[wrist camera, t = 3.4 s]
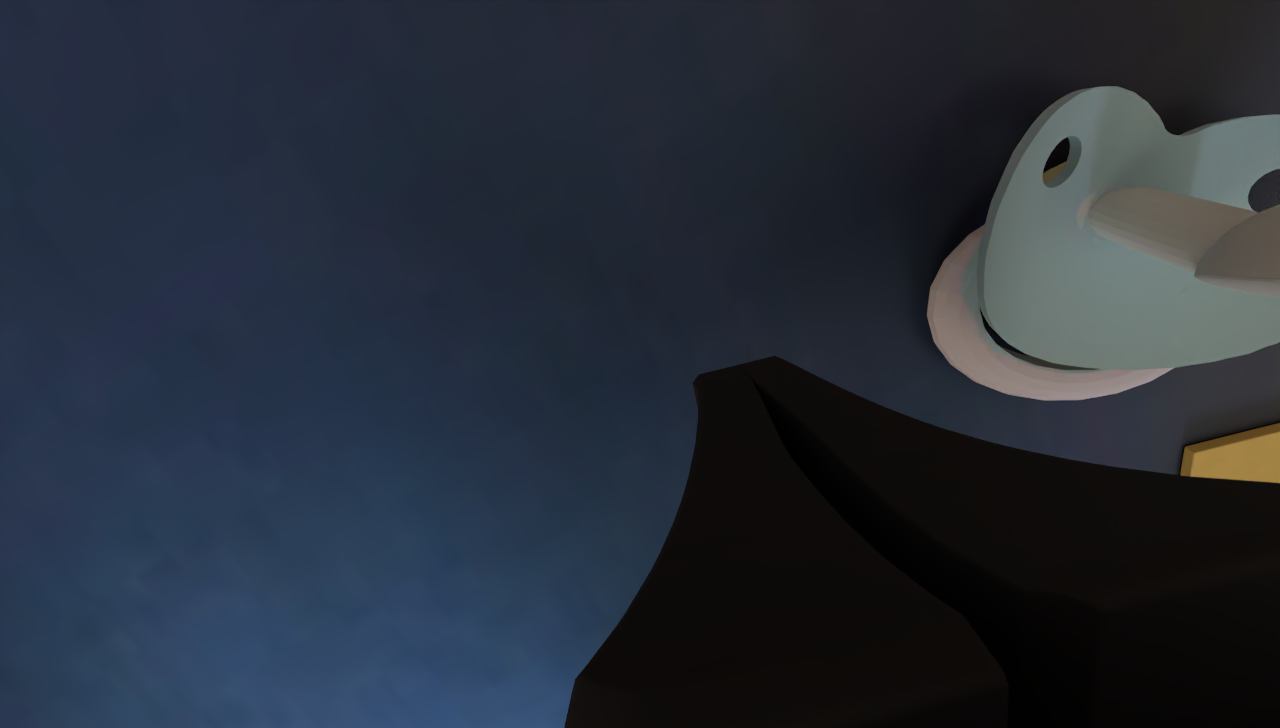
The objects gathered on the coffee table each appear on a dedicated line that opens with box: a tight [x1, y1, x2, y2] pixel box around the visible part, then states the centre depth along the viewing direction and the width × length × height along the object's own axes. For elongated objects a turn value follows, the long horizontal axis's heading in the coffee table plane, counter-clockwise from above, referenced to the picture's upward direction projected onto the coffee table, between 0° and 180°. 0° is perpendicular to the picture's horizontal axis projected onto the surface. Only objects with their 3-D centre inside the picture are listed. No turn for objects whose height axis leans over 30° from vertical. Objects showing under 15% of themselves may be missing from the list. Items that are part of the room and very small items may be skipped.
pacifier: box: [927, 86, 1280, 400], centre depth 11 cm, size 7×6×6 cm
